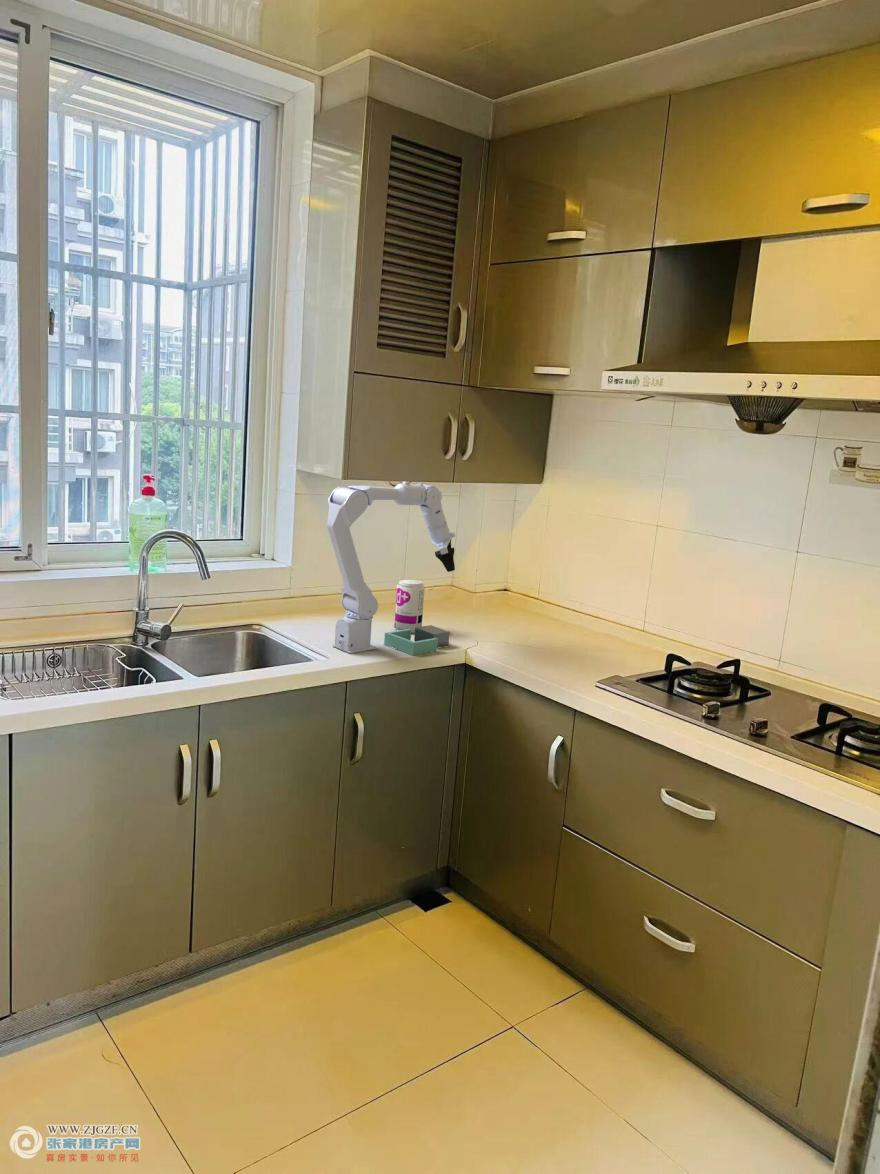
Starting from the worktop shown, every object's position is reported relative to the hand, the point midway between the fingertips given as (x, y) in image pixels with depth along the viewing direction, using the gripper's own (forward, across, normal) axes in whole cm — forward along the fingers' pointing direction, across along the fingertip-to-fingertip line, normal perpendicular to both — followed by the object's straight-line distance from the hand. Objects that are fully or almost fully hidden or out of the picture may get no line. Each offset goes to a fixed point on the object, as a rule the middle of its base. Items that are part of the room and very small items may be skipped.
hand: (450, 564), depth 255 cm
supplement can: (+17, -1, +18) cm, 25 cm away
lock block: (+16, -14, +12) cm, 24 cm away
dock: (+12, -19, +17) cm, 28 cm away
